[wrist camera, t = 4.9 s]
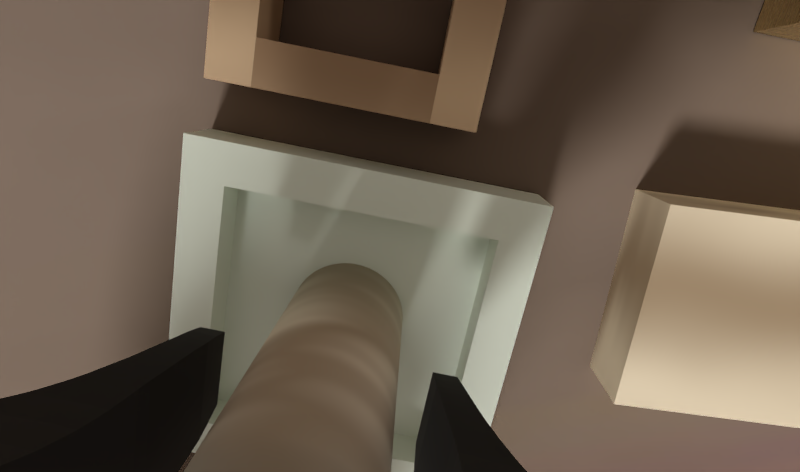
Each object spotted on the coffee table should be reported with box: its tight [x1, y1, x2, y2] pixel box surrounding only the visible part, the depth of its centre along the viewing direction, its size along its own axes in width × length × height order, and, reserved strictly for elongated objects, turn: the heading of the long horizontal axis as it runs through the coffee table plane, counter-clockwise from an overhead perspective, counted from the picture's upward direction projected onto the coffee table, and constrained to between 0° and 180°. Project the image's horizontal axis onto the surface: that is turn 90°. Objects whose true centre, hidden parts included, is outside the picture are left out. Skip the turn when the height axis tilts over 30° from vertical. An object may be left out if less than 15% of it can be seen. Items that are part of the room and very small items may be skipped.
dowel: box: [184, 263, 403, 472], centre depth 12 cm, size 4×4×8 cm
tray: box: [169, 129, 554, 472], centre depth 15 cm, size 10×10×2 cm
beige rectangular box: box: [590, 189, 800, 428], centre depth 15 cm, size 6×8×2 cm
